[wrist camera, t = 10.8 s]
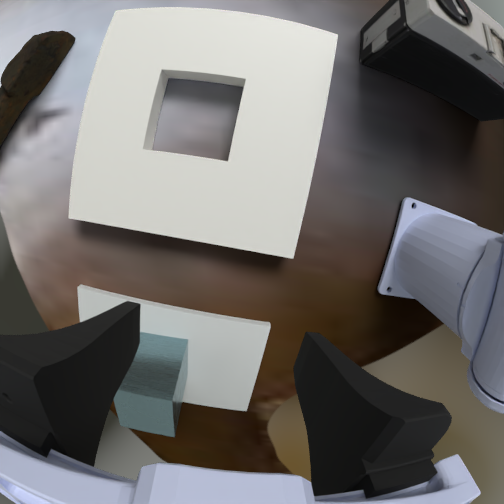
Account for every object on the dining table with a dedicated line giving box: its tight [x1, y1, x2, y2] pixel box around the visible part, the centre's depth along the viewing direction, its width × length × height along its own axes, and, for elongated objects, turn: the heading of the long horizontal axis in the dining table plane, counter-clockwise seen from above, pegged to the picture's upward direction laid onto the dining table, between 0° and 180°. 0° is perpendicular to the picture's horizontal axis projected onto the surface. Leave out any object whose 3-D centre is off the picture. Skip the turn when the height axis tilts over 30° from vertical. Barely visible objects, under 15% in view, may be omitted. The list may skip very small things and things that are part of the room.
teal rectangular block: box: [114, 332, 188, 437], centre depth 19 cm, size 4×4×7 cm
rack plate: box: [69, 7, 338, 259], centre depth 17 cm, size 16×16×2 cm
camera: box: [360, 0, 504, 121], centre depth 12 cm, size 14×9×10 cm, turn 74°
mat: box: [78, 285, 271, 411], centre depth 22 cm, size 16×10×1 cm, turn 79°
